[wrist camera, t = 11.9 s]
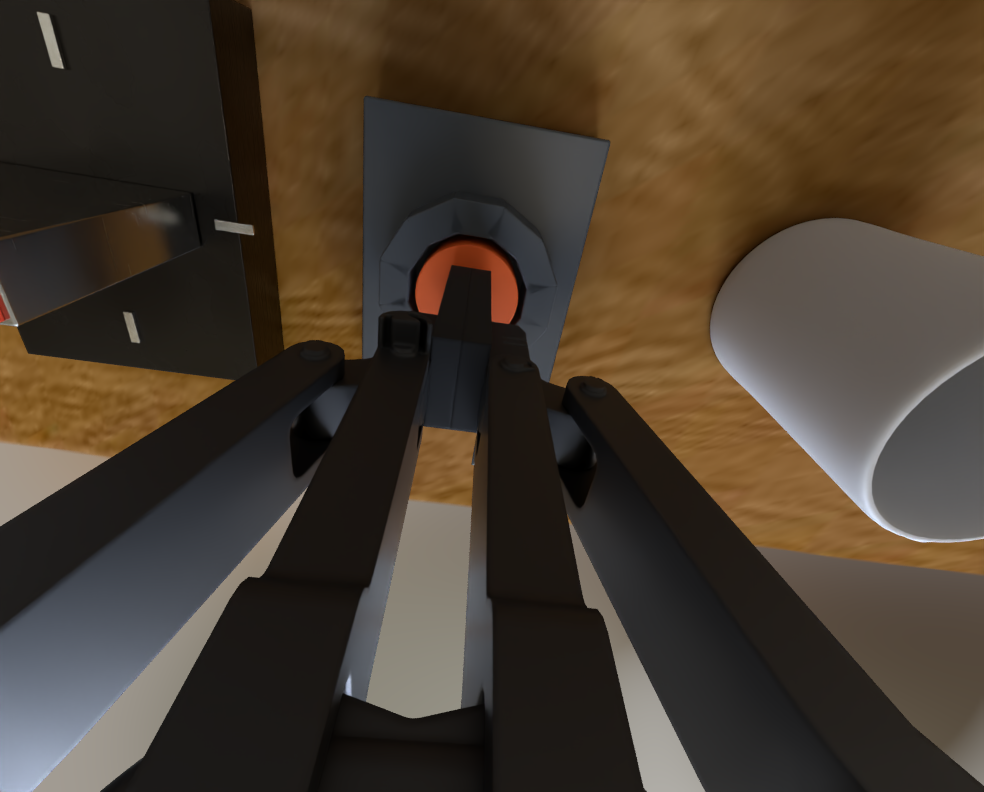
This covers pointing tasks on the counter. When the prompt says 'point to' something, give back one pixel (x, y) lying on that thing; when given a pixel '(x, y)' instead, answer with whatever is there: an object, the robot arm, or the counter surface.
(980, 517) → the mug
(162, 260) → the grey metallic block
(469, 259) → the button
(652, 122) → the counter surface
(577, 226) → the button box
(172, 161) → the panel
